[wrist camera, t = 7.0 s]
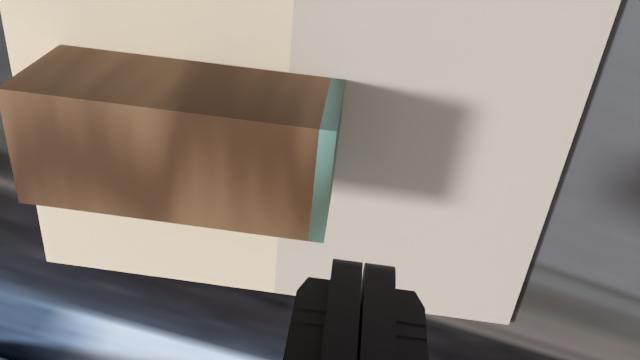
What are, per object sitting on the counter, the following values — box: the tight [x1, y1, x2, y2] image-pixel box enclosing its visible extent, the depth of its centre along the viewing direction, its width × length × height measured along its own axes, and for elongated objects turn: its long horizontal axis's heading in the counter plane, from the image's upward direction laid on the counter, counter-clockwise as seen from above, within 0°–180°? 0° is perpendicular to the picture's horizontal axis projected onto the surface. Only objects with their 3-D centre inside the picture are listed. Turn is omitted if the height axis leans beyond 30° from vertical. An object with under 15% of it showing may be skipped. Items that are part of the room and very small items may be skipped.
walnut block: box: [0, 45, 346, 243], centre depth 20 cm, size 4×4×10 cm
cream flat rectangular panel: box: [0, 0, 621, 325], centre depth 22 cm, size 16×20×1 cm
